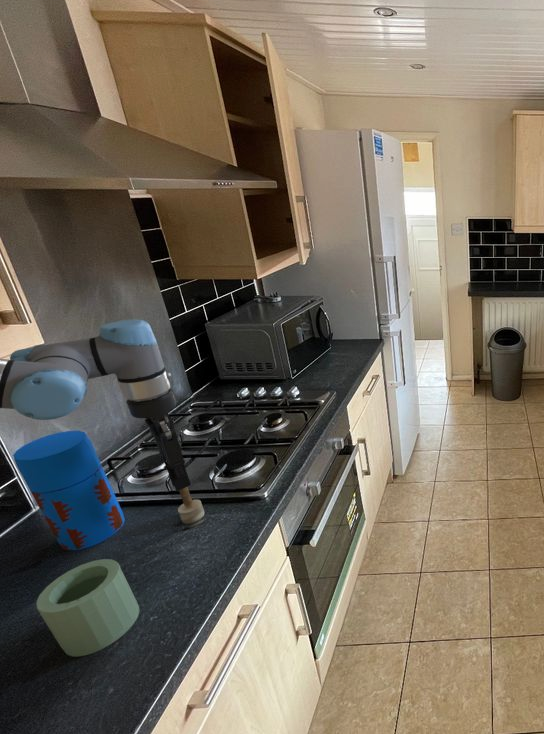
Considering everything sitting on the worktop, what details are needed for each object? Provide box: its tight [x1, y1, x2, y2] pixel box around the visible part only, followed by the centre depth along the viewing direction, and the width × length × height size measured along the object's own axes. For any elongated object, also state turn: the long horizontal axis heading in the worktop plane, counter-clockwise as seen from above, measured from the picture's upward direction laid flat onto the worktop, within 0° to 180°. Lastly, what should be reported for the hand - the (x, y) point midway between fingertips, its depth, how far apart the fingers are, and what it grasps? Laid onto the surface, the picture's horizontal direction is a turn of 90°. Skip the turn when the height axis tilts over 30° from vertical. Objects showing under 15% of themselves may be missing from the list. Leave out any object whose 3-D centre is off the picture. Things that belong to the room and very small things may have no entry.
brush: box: [177, 486, 206, 528], centre depth 95 cm, size 4×4×19 cm
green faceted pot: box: [35, 558, 140, 658], centre depth 73 cm, size 10×10×11 cm
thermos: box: [13, 430, 126, 551], centre depth 90 cm, size 11×11×25 cm
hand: (181, 485), depth 95 cm, fingers closed on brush, 2 cm apart
